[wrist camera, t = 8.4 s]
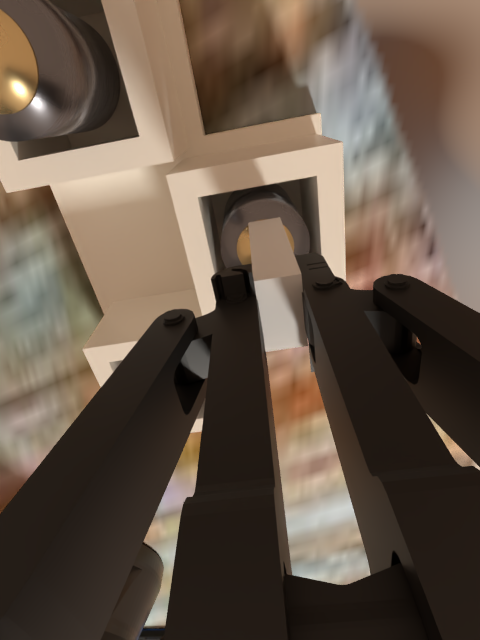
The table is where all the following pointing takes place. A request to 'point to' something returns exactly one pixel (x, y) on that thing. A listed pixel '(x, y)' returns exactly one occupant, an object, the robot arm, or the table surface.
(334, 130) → the table surface
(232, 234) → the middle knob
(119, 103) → the knob panel
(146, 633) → the handheld game console
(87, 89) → the knob
